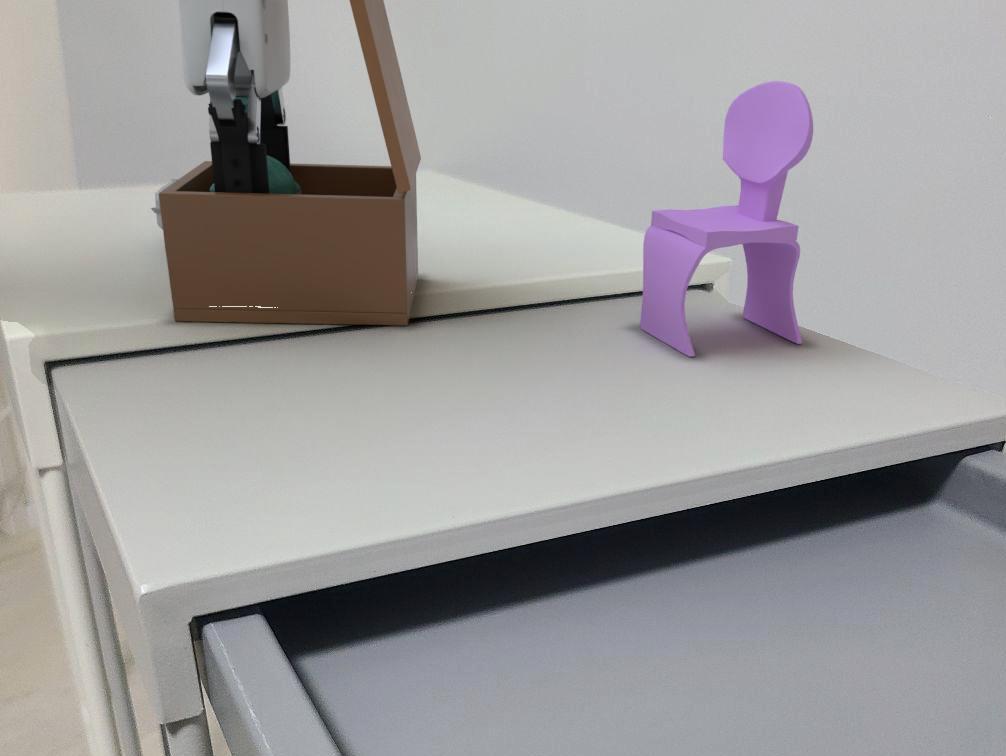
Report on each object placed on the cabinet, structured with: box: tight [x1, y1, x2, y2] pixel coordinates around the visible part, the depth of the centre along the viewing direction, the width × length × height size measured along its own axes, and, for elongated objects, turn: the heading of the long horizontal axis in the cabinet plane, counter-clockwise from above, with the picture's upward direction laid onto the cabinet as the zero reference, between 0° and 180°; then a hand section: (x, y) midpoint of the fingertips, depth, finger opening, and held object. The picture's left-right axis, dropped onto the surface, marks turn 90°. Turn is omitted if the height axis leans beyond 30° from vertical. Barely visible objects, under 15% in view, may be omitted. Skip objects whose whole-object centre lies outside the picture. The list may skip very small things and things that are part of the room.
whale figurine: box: [210, 156, 302, 195], centre depth 69 cm, size 6×7×4 cm
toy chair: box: [639, 80, 814, 358], centre depth 65 cm, size 8×9×15 cm
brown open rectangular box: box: [158, 160, 419, 327], centre depth 71 cm, size 15×12×8 cm
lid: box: [349, 0, 422, 193], centre depth 66 cm, size 15×12×6 cm
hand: (256, 196), depth 70 cm, fingers closed on whale figurine, 7 cm apart
